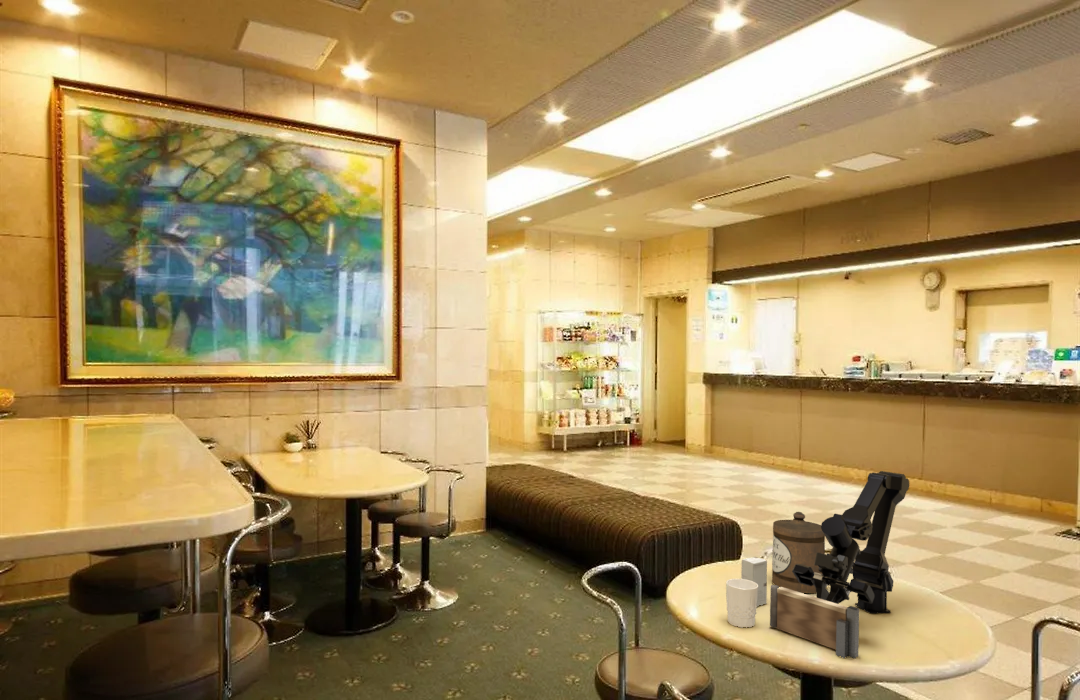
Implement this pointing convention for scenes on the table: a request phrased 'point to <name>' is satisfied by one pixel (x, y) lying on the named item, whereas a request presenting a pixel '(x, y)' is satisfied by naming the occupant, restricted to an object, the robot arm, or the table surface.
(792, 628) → the gate leaf
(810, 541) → the wooden container
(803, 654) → the table surface
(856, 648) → the post
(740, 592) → the white cup
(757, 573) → the skincare box
